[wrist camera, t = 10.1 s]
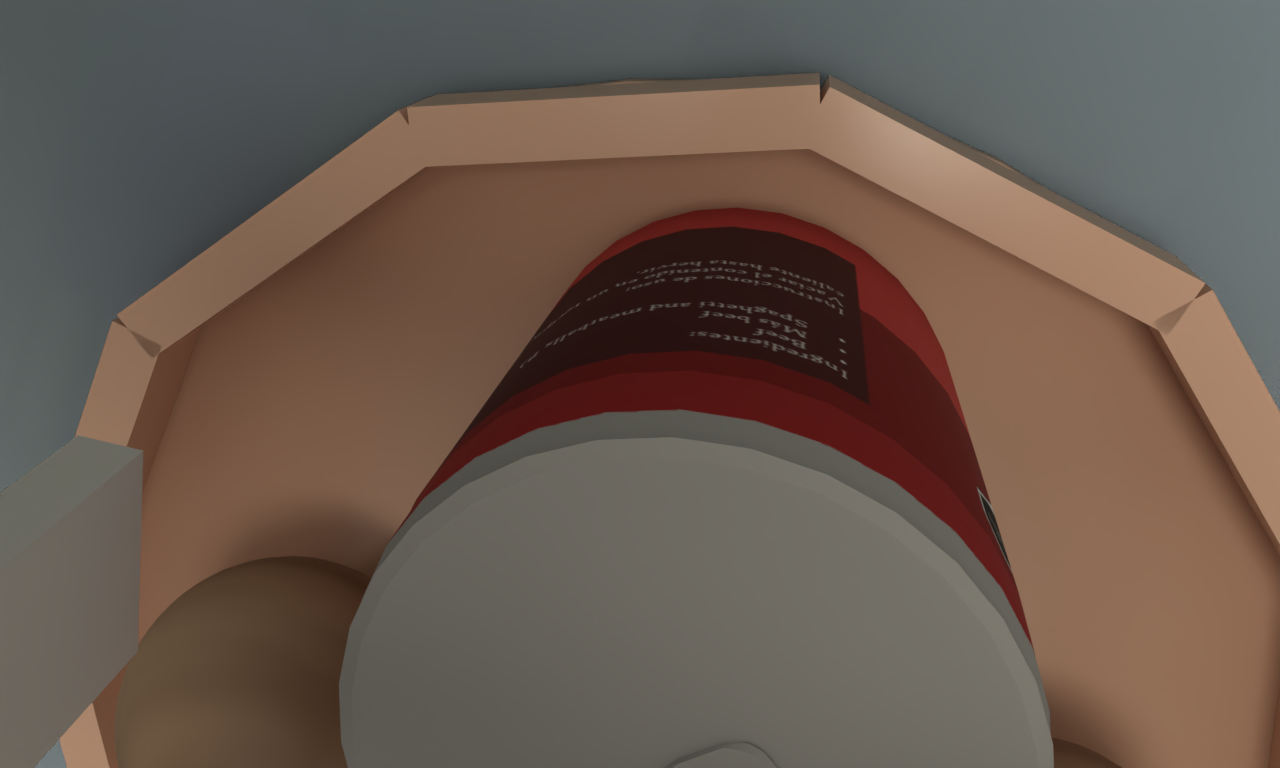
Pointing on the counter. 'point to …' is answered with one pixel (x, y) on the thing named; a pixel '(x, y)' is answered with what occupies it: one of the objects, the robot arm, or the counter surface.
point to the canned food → (705, 536)
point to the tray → (701, 180)
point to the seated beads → (267, 673)
